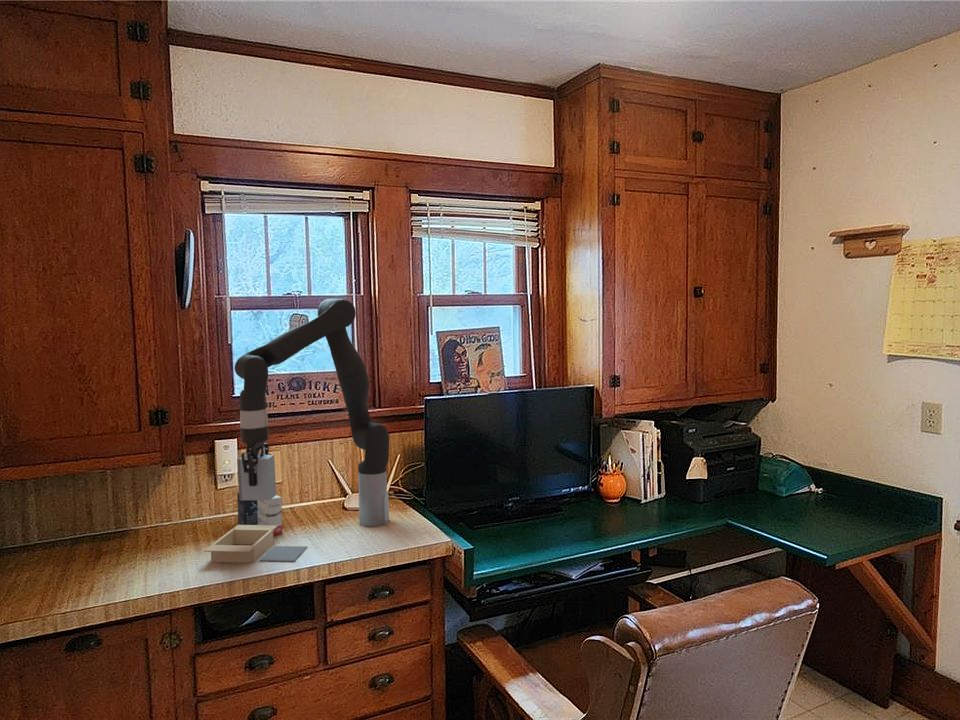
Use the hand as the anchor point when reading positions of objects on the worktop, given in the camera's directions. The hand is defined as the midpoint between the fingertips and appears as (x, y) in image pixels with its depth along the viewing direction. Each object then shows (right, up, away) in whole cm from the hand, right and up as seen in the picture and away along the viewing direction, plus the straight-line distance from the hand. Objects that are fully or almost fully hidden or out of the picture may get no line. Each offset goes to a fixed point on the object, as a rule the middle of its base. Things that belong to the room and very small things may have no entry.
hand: (257, 482), depth 190 cm
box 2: (-11, -19, +28) cm, 36 cm away
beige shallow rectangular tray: (-5, -21, +2) cm, 21 cm away
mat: (+8, -21, 0) cm, 22 cm away
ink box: (-3, -19, +20) cm, 28 cm away
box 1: (0, -4, 0) cm, 4 cm away
